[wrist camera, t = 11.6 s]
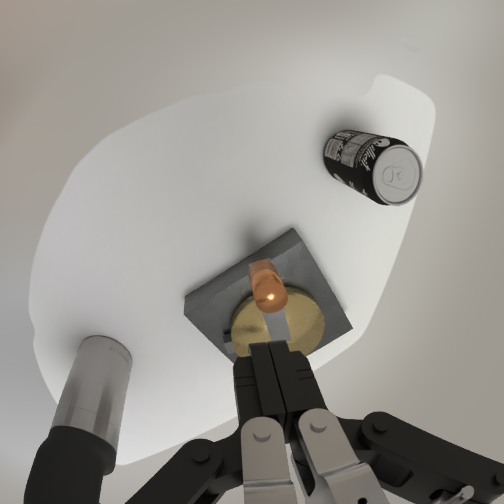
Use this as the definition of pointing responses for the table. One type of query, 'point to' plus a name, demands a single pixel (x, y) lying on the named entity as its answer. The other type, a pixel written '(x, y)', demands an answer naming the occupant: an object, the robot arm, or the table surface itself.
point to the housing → (239, 289)
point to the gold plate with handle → (274, 314)
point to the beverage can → (375, 166)
